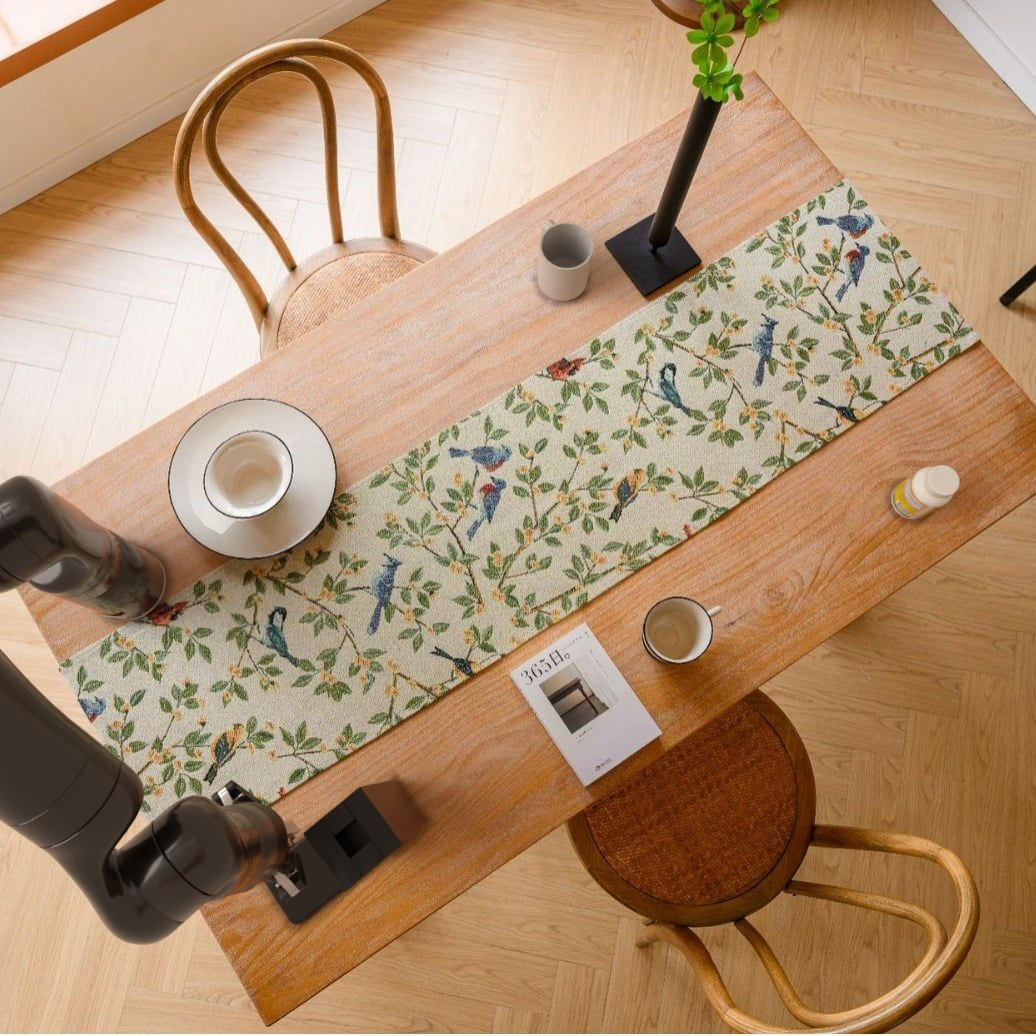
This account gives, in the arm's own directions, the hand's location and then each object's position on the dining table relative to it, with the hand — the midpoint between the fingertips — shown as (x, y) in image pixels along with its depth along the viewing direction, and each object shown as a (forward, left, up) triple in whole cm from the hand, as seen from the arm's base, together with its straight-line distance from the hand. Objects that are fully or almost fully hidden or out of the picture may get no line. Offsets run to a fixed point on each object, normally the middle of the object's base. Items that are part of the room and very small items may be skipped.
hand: (280, 833), depth 98 cm
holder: (+6, +8, -13) cm, 17 cm away
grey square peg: (0, 0, -5) cm, 5 cm away
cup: (-38, +72, -13) cm, 82 cm away
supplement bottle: (+18, +87, -13) cm, 90 cm away
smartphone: (+5, 0, -13) cm, 14 cm away
